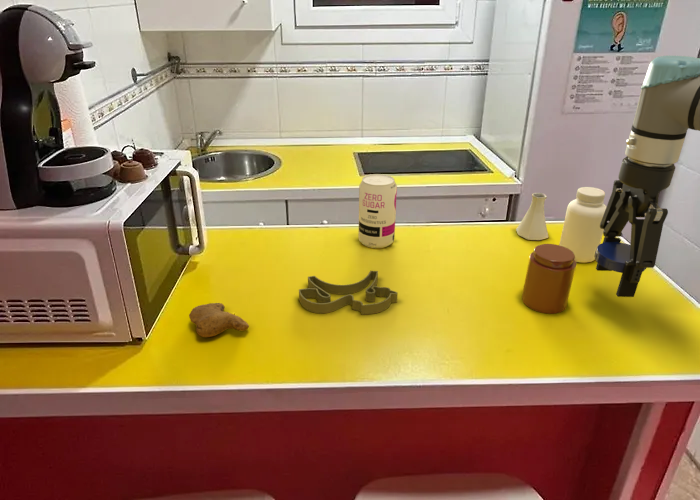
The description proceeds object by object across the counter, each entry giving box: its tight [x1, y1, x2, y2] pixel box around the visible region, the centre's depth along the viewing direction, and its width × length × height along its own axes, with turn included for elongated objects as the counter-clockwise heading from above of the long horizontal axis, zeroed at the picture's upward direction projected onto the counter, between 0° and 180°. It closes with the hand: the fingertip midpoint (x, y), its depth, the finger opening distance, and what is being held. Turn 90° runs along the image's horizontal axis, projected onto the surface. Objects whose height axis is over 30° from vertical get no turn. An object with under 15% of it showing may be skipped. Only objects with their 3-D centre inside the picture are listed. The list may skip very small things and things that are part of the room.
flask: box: [515, 192, 549, 241], centre depth 121 cm, size 7×7×10 cm
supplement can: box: [357, 173, 398, 249], centre depth 116 cm, size 8×8×15 cm
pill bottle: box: [558, 186, 607, 264], centre depth 111 cm, size 8×8×15 cm
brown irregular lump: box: [188, 302, 250, 338], centre depth 90 cm, size 10×10×4 cm
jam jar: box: [521, 243, 577, 315], centre depth 95 cm, size 8×8×10 cm
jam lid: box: [594, 242, 647, 274], centre depth 91 cm, size 8×8×2 cm
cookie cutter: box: [298, 270, 398, 316], centre depth 98 cm, size 18×12×2 cm, turn 100°
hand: (613, 282), depth 93 cm, fingers closed on jam lid, 8 cm apart
